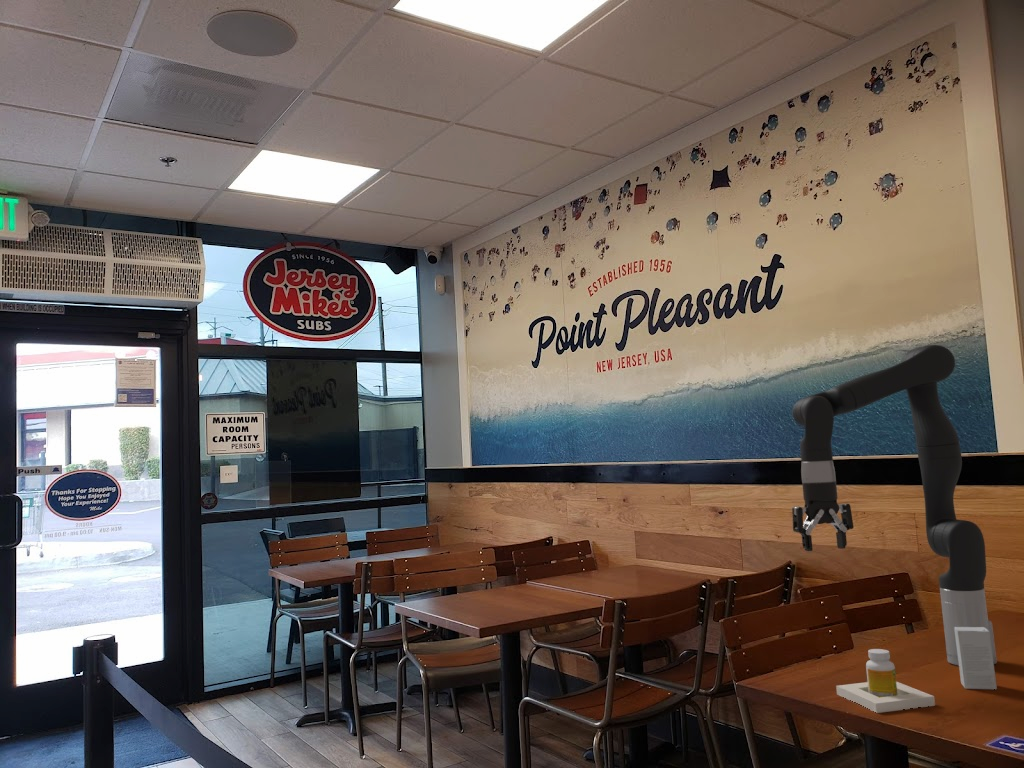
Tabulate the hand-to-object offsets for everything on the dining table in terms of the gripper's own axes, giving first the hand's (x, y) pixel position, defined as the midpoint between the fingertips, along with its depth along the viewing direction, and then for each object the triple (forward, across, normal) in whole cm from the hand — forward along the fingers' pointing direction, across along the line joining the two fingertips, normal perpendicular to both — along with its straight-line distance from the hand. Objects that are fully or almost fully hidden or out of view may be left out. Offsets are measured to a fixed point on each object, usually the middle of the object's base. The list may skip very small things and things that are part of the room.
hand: (825, 549), depth 183 cm
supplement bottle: (+28, -3, -21) cm, 35 cm away
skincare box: (+28, +20, -20) cm, 40 cm away
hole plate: (+28, -3, -21) cm, 35 cm away
